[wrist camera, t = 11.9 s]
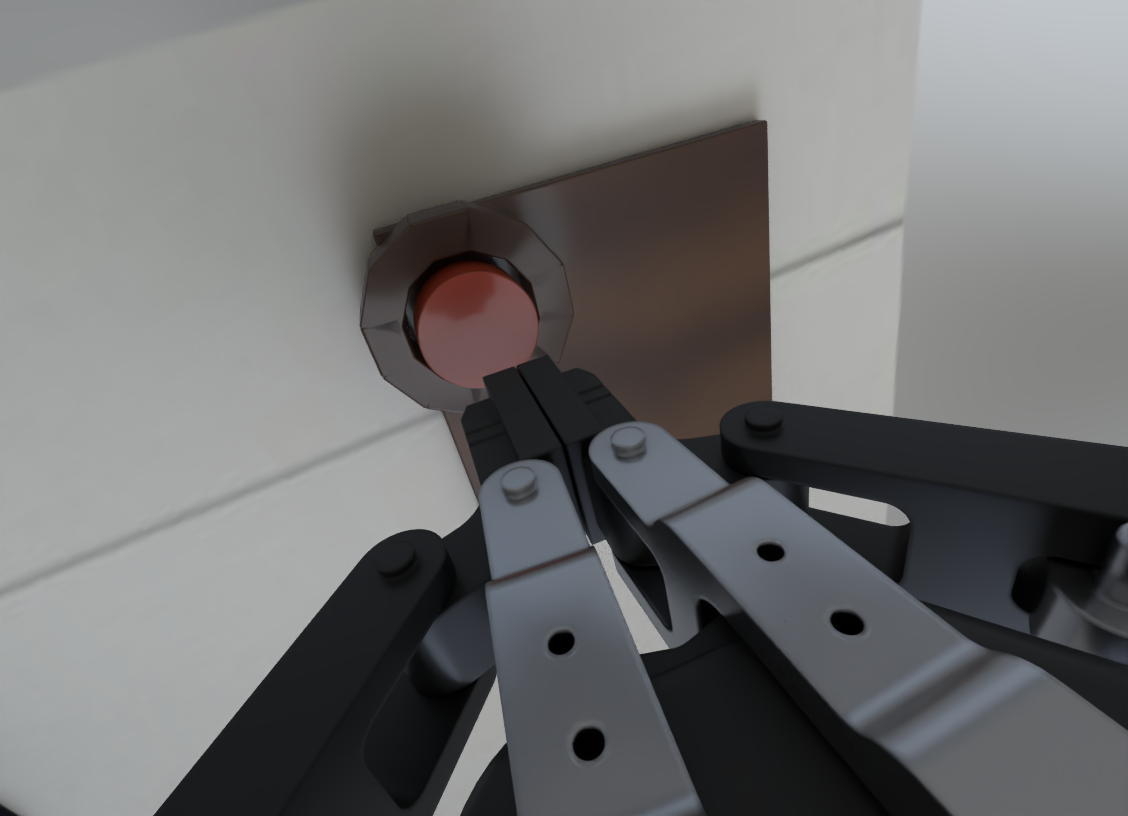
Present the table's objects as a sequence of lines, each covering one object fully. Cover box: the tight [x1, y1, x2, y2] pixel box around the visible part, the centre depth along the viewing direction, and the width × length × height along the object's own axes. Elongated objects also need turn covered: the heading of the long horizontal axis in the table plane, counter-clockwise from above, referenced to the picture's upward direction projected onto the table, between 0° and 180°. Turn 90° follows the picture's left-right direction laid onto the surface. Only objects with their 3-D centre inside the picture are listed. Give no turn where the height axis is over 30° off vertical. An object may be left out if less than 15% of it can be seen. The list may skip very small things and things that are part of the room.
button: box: [413, 260, 539, 388], centre depth 17 cm, size 4×4×2 cm
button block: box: [360, 120, 772, 503], centre depth 21 cm, size 14×15×2 cm
